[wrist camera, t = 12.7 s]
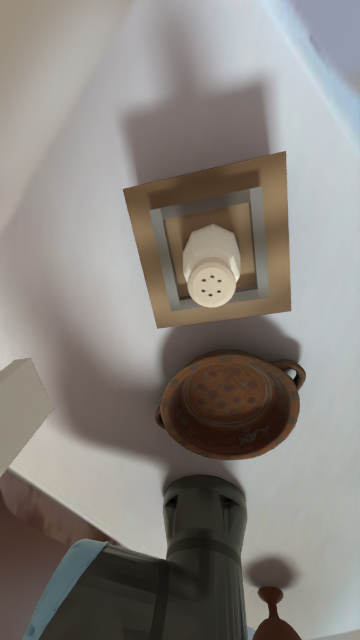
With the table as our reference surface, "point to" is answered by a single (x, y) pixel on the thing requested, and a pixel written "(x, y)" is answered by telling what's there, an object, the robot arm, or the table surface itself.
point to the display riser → (227, 212)
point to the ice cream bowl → (273, 619)
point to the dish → (231, 405)
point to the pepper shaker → (211, 265)
